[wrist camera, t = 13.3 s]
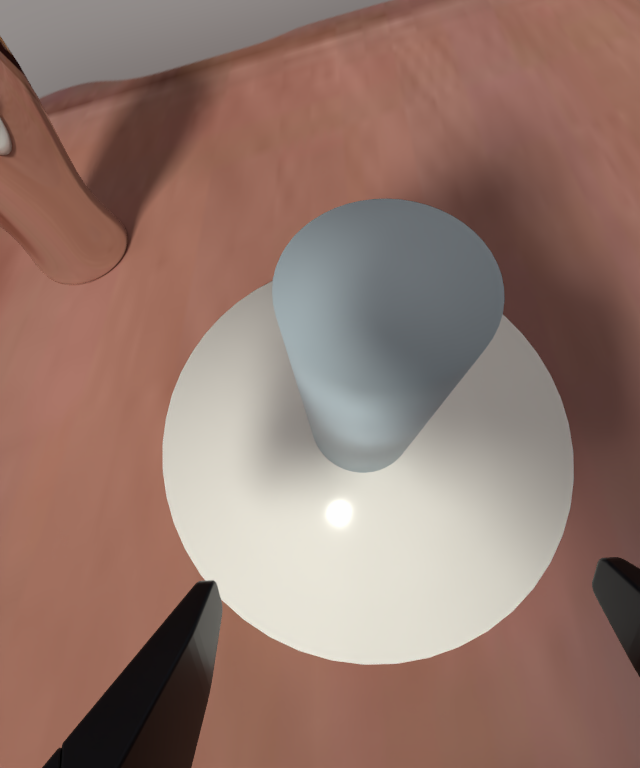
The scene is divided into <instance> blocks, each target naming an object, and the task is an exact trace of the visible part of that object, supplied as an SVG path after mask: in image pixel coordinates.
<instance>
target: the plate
mask: <svg viewBox="0 0 640 768" xmlns="http://www.w3.org/2000/svg"><path fill="white" fill-rule="evenodd" d="M272 286H273V281H271V282H270V283H268V284H266V285H264V286H262V287H260V288H258V289H257V290H255V291H253V292H252V293H251V294H249V295H248V296H246V297H245V298H243V299H242V300H240V301H239V302H237V303H236V304H235V305H234V306H233V307H232V308H231V309H229V310H228V311H227V312H226V313H225V314H224V315H222V316H221V317H220V318H219V319H218V321H217V322H216V323H215V324H214V325H213V326H212V327H211V328H210V329H209V330H208V332H207V333H206V334H205V335H204V337H203V338H202V339H201V341H200V342H199V343H198V345H197V346H196V348H195V349H194V350H193V352H192V354H191V355H190V357H189V359H188V361H187V363H186V364H185V366H184V368H183V370H182V372H181V374H180V376H179V379H178V381H177V384H176V386H175V389H174V391H173V394H172V397H171V401H170V405H169V409H168V413H167V416H166V422H165V430H164V438H163V475H164V482H165V489H166V496H167V500H168V504H169V507H170V511H171V514H172V518H173V522H174V524H175V527H176V529H177V531H178V534H179V536H180V538H181V541H182V543H183V545H184V548H185V550H186V551H187V553H188V555H189V556H190V558H191V560H192V561H193V563H194V565H195V566H196V568H197V569H198V571H199V573H200V574H201V576H202V577H203V578H204V579H205V581H208V580H214V581H215V582H216V583H217V586H218V590H219V594H220V598H221V599H222V600H223V601H224V602H225V603H226V604H227V605H228V606H229V607H230V608H231V609H233V610H234V611H235V612H236V613H237V614H238V615H239V616H240V617H241V618H243V619H244V620H245V621H247V622H248V623H250V624H251V625H253V626H254V627H256V628H257V629H259V630H260V631H262V632H263V633H265V634H266V635H268V636H269V637H271V638H273V639H275V640H277V641H280V642H282V643H284V644H286V645H288V646H290V647H292V648H294V649H297V650H299V651H302V652H305V653H308V654H312V655H315V656H319V657H322V658H325V659H329V660H334V661H341V662H349V663H356V664H398V663H403V662H408V661H414V660H419V659H425V658H430V657H432V656H435V655H438V654H441V653H443V652H446V651H449V650H452V649H455V648H457V647H460V646H462V645H464V644H465V643H467V642H469V641H471V640H473V639H474V638H476V637H478V636H480V635H482V634H483V633H485V632H487V631H489V630H490V629H491V628H492V627H494V626H495V625H496V624H497V623H499V622H500V621H501V620H502V619H504V618H505V617H506V616H507V615H509V614H510V613H511V612H512V611H513V610H514V609H515V608H516V607H517V606H518V605H519V604H520V603H521V602H522V601H523V599H524V598H525V597H526V596H527V595H528V594H529V593H530V592H531V591H532V590H533V588H534V587H535V586H536V584H537V582H538V581H539V579H540V578H541V576H542V575H543V573H544V572H545V570H546V569H547V567H548V566H549V564H550V562H551V560H552V558H553V556H554V554H555V551H556V549H557V547H558V545H559V542H560V540H561V538H562V536H563V532H564V529H565V525H566V521H567V518H568V514H569V511H570V506H571V498H572V490H573V482H574V464H573V447H572V440H571V434H570V428H569V423H568V420H567V416H566V413H565V410H564V406H563V403H562V400H561V397H560V395H559V393H558V390H557V388H556V386H555V384H554V382H553V379H552V377H551V375H550V373H549V372H548V370H547V368H546V367H545V365H544V363H543V362H542V360H541V358H540V357H539V355H538V353H537V352H536V351H535V349H534V348H533V347H532V346H531V344H530V343H529V342H528V341H527V339H526V338H525V337H524V335H523V334H522V333H521V332H520V331H519V330H518V329H517V328H516V327H515V326H514V325H513V324H512V323H511V322H510V321H509V320H508V319H507V318H506V317H505V316H504V315H503V314H502V318H501V321H500V324H499V327H498V329H497V331H496V333H495V335H494V337H493V339H492V340H491V342H490V343H489V345H488V346H487V347H486V349H485V350H484V351H483V353H482V354H481V355H480V356H479V358H478V359H477V360H476V362H475V363H474V364H473V365H472V367H471V368H470V369H469V370H468V372H467V373H466V374H465V375H464V377H463V378H462V379H461V381H460V382H459V383H458V384H457V386H456V387H455V388H454V389H453V391H452V392H451V393H450V394H449V396H448V397H447V398H446V399H445V401H444V402H443V403H442V405H441V406H440V407H439V408H438V410H437V411H436V412H435V413H434V415H433V416H432V417H431V418H430V420H429V421H428V422H427V423H426V425H425V426H424V427H423V429H422V430H421V431H420V432H419V434H418V435H417V436H416V437H415V439H414V440H413V441H412V442H411V444H410V445H409V446H408V447H407V449H406V450H405V451H404V453H403V454H402V455H401V456H400V457H399V458H398V459H397V460H396V461H395V462H394V463H392V464H391V465H389V466H387V467H386V468H383V469H381V470H378V471H374V472H367V473H359V472H352V471H348V470H345V469H343V468H340V467H338V466H337V465H335V464H333V463H332V462H331V461H329V460H328V459H327V458H326V457H325V456H324V455H323V454H322V452H321V451H320V449H319V448H318V446H317V444H316V442H315V440H314V437H313V434H312V431H311V427H310V424H309V421H308V418H307V415H306V411H305V408H304V405H303V402H302V399H301V395H300V392H299V389H298V386H297V383H296V379H295V376H294V373H293V370H292V367H291V363H290V360H289V357H288V354H287V351H286V347H285V344H284V341H283V338H282V335H281V331H280V328H279V325H278V322H277V318H276V315H275V311H274V306H273V298H272Z"/></svg>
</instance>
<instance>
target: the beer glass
mask: <svg viewBox="0 0 640 768" xmlns="http://www.w3.org/2000/svg"><path fill="white" fill-rule="evenodd" d="M0 227H1V228H2V229H4V230H5V231H6V232H7V233H9V234H10V235H11V236H12V237H13V238H14V239H15V240H16V241H17V242H18V243H19V244H20V245H21V246H22V247H23V249H24V250H25V251H26V253H27V254H28V255H29V256H30V258H31V259H32V260H33V261H34V263H35V264H36V265H37V267H38V268H39V269H40V270H41V271H42V272H43V273H44V274H45V275H46V276H47V277H48V278H50V279H51V280H53V281H55V282H58V283H62V284H81V283H86V282H89V281H92V280H95V279H97V278H99V277H101V276H103V275H104V274H106V273H107V272H109V271H110V270H111V269H112V268H114V267H115V266H116V265H117V263H118V262H119V261H120V260H121V258H122V256H123V255H124V253H125V250H126V247H127V241H128V238H127V233H126V230H125V228H124V226H123V224H122V223H121V222H120V221H119V220H118V219H117V217H116V216H115V215H114V214H112V213H111V212H110V211H109V210H108V209H107V208H106V207H105V206H104V205H103V204H102V203H101V202H100V201H99V200H98V199H97V198H96V197H95V196H94V194H93V193H92V192H91V191H90V189H89V188H88V187H87V186H86V184H85V183H84V181H83V180H82V178H81V177H80V175H79V174H78V172H77V170H76V169H75V167H74V165H73V163H72V161H71V159H70V158H69V156H68V154H67V152H66V150H65V148H64V146H63V144H62V142H61V140H60V138H59V136H58V134H57V132H56V130H55V128H54V127H53V125H52V123H51V121H50V119H49V117H48V115H47V113H46V111H45V109H44V108H43V106H42V104H41V102H40V100H39V98H38V96H37V95H36V93H35V91H34V89H33V88H32V86H31V84H30V82H29V81H28V79H27V77H26V75H25V74H24V72H23V70H22V68H21V67H20V65H19V63H18V62H17V60H16V59H15V58H14V56H13V54H12V53H11V51H10V50H9V48H8V47H7V45H6V44H5V42H4V41H3V39H2V38H1V36H0Z"/></svg>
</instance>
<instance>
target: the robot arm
mask: <svg viewBox="0 0 640 768" xmlns="http://www.w3.org/2000/svg"><path fill="white" fill-rule="evenodd" d="M592 587H593V591H594V594H595V596H596V598H597V600H598V601H599V603H600V605H601V607H602V609H603V611H604V613H605V615H606V616H607V618H608V620H609V622H610V624H611V626H612V628H613V630H614V631H615V633H616V635H617V637H618V639H619V641H620V643H621V645H622V647H623V648H624V650H625V652H626V654H627V656H628V658H629V659H630V661H631V663H632V665H633V666H634V668H635V670H636V671H637V673H638V675H639V676H640V569H639V568H638V567H636V566H634V565H633V564H631V563H629V562H628V561H626V560H624V559H622V558H618V557H610V558H601V559H600V560H599V561H598V564H597V567H596V571H595V574H594V578H593V581H592ZM221 617H222V602H221V598H220V594H219V590H218V586H217V583H216V582H215V581H214V580H208V581H199V582H197V583H196V584H195V585H194V586H193V588H192V589H191V590H190V591H189V592H188V594H187V595H186V596H185V597H184V598H183V600H182V601H181V602H180V603H179V604H178V606H177V607H176V608H175V609H174V610H173V612H172V613H171V614H170V615H169V616H168V618H167V619H166V620H165V621H164V622H163V624H162V625H161V626H160V627H159V628H158V630H157V631H156V632H155V633H154V634H153V636H152V637H151V638H150V639H149V640H148V642H147V643H146V644H145V645H144V646H143V648H142V649H141V650H140V651H139V652H138V654H137V655H136V656H135V657H134V658H133V660H132V661H131V662H130V663H129V664H128V666H127V667H126V668H125V669H124V670H123V672H122V673H121V674H120V675H119V676H118V678H117V679H116V680H115V681H114V682H113V684H112V685H111V686H110V687H109V688H108V690H107V691H106V692H105V693H104V694H103V696H102V697H101V698H100V699H99V700H98V702H97V703H96V704H95V705H94V706H93V708H92V709H91V710H90V711H89V712H88V714H87V715H86V716H85V717H84V718H83V720H82V721H81V722H80V723H79V724H78V726H77V727H76V728H75V729H74V730H73V732H72V733H71V734H70V735H69V736H68V738H67V739H66V740H65V741H64V742H63V744H62V748H58V749H57V751H56V752H55V753H54V754H53V755H52V757H51V758H50V759H49V760H48V761H47V763H46V764H45V765H44V766H43V767H42V768H191V767H192V762H193V758H194V754H195V750H196V746H197V742H198V738H199V734H200V730H201V726H202V722H203V718H204V714H205V710H206V706H207V702H208V697H209V693H210V688H211V683H212V677H213V670H214V663H215V657H216V650H217V644H218V637H219V631H220V624H221Z"/></svg>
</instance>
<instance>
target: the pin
mask: <svg viewBox="0 0 640 768" xmlns="http://www.w3.org/2000/svg"><path fill="white" fill-rule="evenodd" d="M272 298H273V306H274V311H275V315H276V318H277V322H278V325H279V328H280V331H281V335H282V338H283V341H284V344H285V347H286V351H287V354H288V357H289V360H290V363H291V367H292V370H293V373H294V376H295V379H296V383H297V386H298V389H299V392H300V395H301V399H302V402H303V405H304V408H305V411H306V415H307V418H308V421H309V424H310V427H311V431H312V434H313V437H314V440H315V442H316V444H317V446H318V448H319V449H320V451H321V452H322V454H323V455H324V456H325V457H326V458H327V459H328V460H329V461H331V462H332V463H333V464H335V465H337V466H338V467H340V468H343V469H345V470H348V471H352V472H359V473H367V472H374V471H378V470H381V469H383V468H386V467H387V466H389V465H391V464H392V463H394V462H395V461H396V460H397V459H398V458H399V457H400V456H401V455H402V454H403V453H404V451H405V450H406V449H407V447H408V446H409V445H410V444H411V442H412V441H413V440H414V439H415V437H416V436H417V435H418V434H419V432H420V431H421V430H422V429H423V427H424V426H425V425H426V423H427V422H428V421H429V420H430V418H431V417H432V416H433V415H434V413H435V412H436V411H437V410H438V408H439V407H440V406H441V405H442V403H443V402H444V401H445V399H446V398H447V397H448V396H449V394H450V393H451V392H452V391H453V389H454V388H455V387H456V386H457V384H458V383H459V382H460V381H461V379H462V378H463V377H464V375H465V374H466V373H467V372H468V370H469V369H470V368H471V367H472V365H473V364H474V363H475V362H476V360H477V359H478V358H479V356H480V355H481V354H482V353H483V351H484V350H485V349H486V347H487V346H488V345H489V343H490V342H491V340H492V339H493V337H494V335H495V333H496V331H497V329H498V327H499V324H500V321H501V318H502V314H503V308H504V285H503V280H502V275H501V272H500V269H499V267H498V264H497V262H496V260H495V258H494V256H493V254H492V253H491V251H490V250H489V248H488V247H487V246H486V244H485V243H484V241H483V240H482V239H481V238H480V237H479V236H478V235H477V234H476V233H475V232H474V231H473V230H472V229H470V228H469V227H468V226H467V225H465V224H464V223H463V222H461V221H460V220H458V219H457V218H455V217H453V216H452V215H450V214H448V213H446V212H444V211H442V210H439V209H437V208H434V207H431V206H429V205H425V204H421V203H418V202H413V201H407V200H401V199H371V200H363V201H358V202H354V203H349V204H346V205H343V206H340V207H337V208H334V209H332V210H330V211H328V212H326V213H324V214H322V215H320V216H319V217H317V218H315V219H314V220H312V221H311V222H310V223H308V224H307V225H306V226H304V227H303V228H302V229H301V230H300V231H299V232H298V233H297V234H296V235H295V236H294V237H293V238H292V240H291V241H290V242H289V243H288V245H287V246H286V248H285V249H284V251H283V253H282V255H281V256H280V259H279V261H278V264H277V266H276V269H275V273H274V277H273V286H272Z"/></svg>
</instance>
